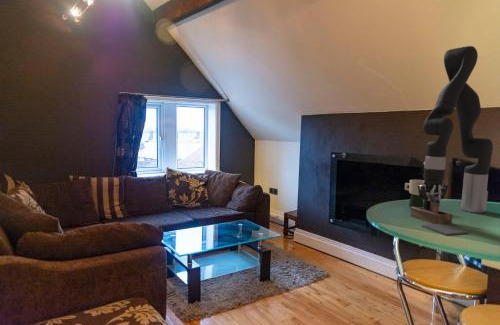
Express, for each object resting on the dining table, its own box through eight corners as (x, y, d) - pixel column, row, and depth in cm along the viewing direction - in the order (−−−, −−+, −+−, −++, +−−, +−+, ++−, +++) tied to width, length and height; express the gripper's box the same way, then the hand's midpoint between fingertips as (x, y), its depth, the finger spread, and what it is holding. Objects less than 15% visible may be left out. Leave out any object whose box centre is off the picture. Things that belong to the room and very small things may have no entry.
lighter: (420, 216, 146) (422, 193, 144) (428, 216, 146) (430, 193, 145) (432, 222, 138) (434, 197, 136) (440, 222, 138) (442, 197, 137)
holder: (425, 214, 149) (426, 205, 149) (451, 223, 137) (452, 213, 136) (410, 215, 146) (411, 206, 146) (435, 224, 134) (436, 214, 134)
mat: (442, 224, 134) (442, 223, 134) (467, 233, 124) (468, 231, 124) (421, 226, 131) (421, 225, 131) (446, 235, 120) (446, 233, 120)
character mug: (430, 208, 162) (432, 180, 160) (428, 211, 156) (430, 182, 154) (404, 205, 168) (406, 178, 166) (402, 207, 162) (404, 180, 160)
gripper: (440, 166, 145) (437, 206, 147) (413, 166, 141) (410, 208, 142) (456, 168, 138) (452, 210, 140) (428, 169, 134) (424, 212, 135)
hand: (431, 209), depth 141 cm, fingers open, 4 cm apart
